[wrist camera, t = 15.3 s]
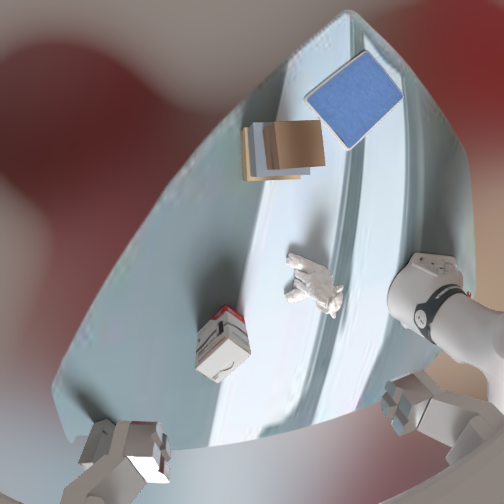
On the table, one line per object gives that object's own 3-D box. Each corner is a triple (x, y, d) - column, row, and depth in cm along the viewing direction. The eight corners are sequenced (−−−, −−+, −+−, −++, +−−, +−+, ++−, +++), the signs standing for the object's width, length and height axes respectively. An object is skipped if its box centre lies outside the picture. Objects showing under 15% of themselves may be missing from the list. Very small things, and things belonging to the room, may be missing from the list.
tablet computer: (345, 153, 48) (349, 152, 47) (300, 100, 44) (302, 98, 43) (402, 98, 46) (406, 97, 45) (363, 50, 42) (367, 48, 41)
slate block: (294, 128, 39) (306, 122, 34) (297, 173, 41) (310, 174, 36) (247, 129, 39) (253, 122, 33) (250, 176, 41) (256, 177, 35)
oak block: (287, 131, 45) (298, 127, 39) (289, 177, 47) (300, 179, 42) (240, 132, 44) (244, 127, 38) (242, 180, 46) (247, 181, 41)
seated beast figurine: (285, 251, 51) (306, 275, 39) (330, 250, 52) (360, 271, 40) (282, 300, 53) (301, 333, 42) (325, 296, 55) (351, 327, 43)
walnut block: (300, 128, 34) (320, 120, 27) (304, 166, 35) (325, 165, 29) (262, 131, 33) (274, 121, 27) (267, 169, 35) (279, 169, 28)
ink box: (225, 302, 52) (229, 337, 41) (244, 317, 53) (253, 354, 42) (195, 332, 53) (193, 371, 42) (215, 346, 54) (217, 385, 43)
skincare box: (128, 434, 59) (119, 480, 44) (112, 439, 59) (102, 482, 44) (106, 416, 57) (92, 462, 42) (90, 422, 57) (76, 465, 42)
